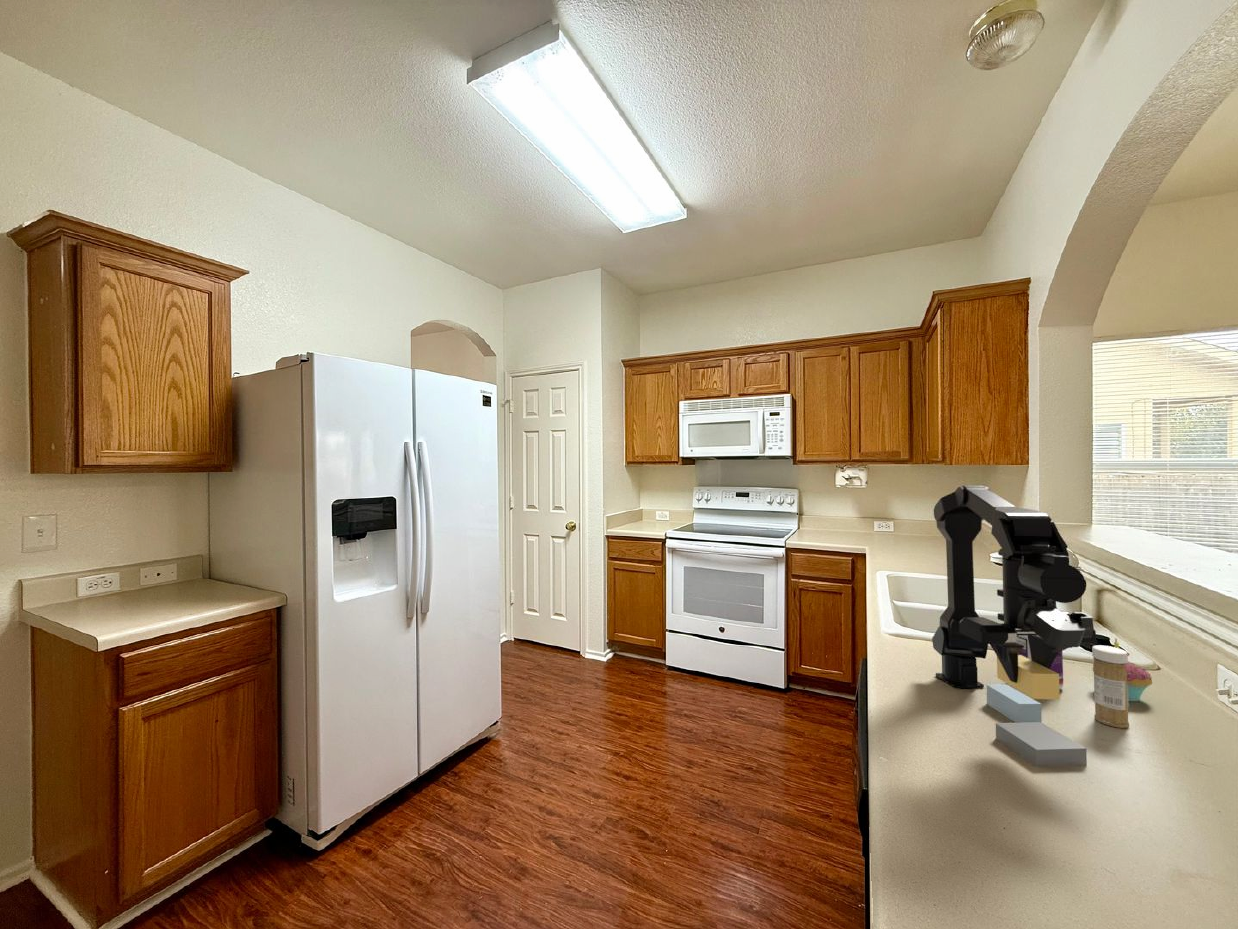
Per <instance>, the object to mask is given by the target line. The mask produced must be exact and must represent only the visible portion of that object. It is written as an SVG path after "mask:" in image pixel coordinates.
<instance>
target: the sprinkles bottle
mask: <svg viewBox="0 0 1238 929" xmlns="http://www.w3.org/2000/svg"><path fill="white" fill-rule="evenodd" d="M1091 649H1092V650H1091V651H1092V652H1091V653H1092V655H1091V656H1092V657H1093V658H1092V659H1093V664H1094V672H1093V692H1094V700H1093V701H1094V709H1095V712H1094V718H1095V720H1096V721H1098V722H1099V723H1101V724H1104V725H1106V726H1109V727H1113V728H1118V729H1124V728H1126V729H1127V728H1129V727H1130V723H1129V701H1128V690H1127V669H1126V665H1127V662H1129V659H1128V658H1129V656H1128V651H1126V650H1124V649H1122V648H1120V647H1119V648H1115V647H1114V646H1110V645H1101V644H1098V645H1092V648H1091Z"/></svg>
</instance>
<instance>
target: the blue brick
mask: <svg viewBox="0 0 1238 929" xmlns="http://www.w3.org/2000/svg"><path fill="white" fill-rule="evenodd" d="M986 704H987V706H989V707H991V708H992V709H994V710H996V711H997V712H999V713H1000V714H1001V715H1003V716H1005V717H1006V718H1008V719H1010V720H1011V721H1013V723H1024V722H1041V723H1043V721H1042V720H1043V719H1042V718H1043V717H1042V703H1040V702H1039V701H1037V700H1036V699H1032V698H1031V697H1029V696H1027V695H1025V694H1024V693H1022V692H1020V691H1019V690H1017V689H1015V688H1014V687H1012V686H1010V685H1009V684H986Z"/></svg>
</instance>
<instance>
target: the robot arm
mask: <svg viewBox="0 0 1238 929" xmlns="http://www.w3.org/2000/svg"><path fill="white" fill-rule="evenodd" d="M933 517H934V519H935V521H936V528H937V529H938V531H939V532H940V534H941V535H942V537H943V538H944V539H945V545H946V546H945V547H946V548H945V550H946V578H947V579H946V580H947V583H946V584H947V607H946V608H945V610H944V611H943V612H942V614H941V615H940V617H939V626H938V627H937V629H936V631H935V632H934V635H933V636H932V638H931V640H932V641H931V643H932V648H933V649H934V651H936V652H937V653H938V654H939V655H940V656H941V672H939V673H937V672H936V673H935V677H937V678H938V679H939V680H942V681H943V682H945V683H946V682H947V684H948V685H949V686H951V687H954V688H956V689H965V688H967V689H969V688H973V689H974V688H985V684H984V683H982V682H980V681H978V678H979V677H978V665H977V658H978V659H979V658H980V659H986V658H987V654H988V649H989V645H990V647H991V648H992V650H993V652H994V653H995V655H996V658H997V657H998V659H999V661H1000V662H1001V664H1002V666H1003V668H1004V670H1005V672H1006V674H1007V676H1008V678H1009V679H1010V681H1012V682H1014V683H1017V679H1018V653H1019V651H1021V650H1022V649H1023V648H1024V646H1023V645H1021V644H1018V643H1017V635H1027V636H1028V641H1029V647H1030V653H1031V659H1032V661H1034V662H1036V663H1038V664H1040V665H1042V666H1044V667H1046V668H1048V669H1050V668H1051V666H1052V664H1053V662H1054V660H1055V658H1056V657H1057V655H1058V653H1059V652H1061V651H1062V652H1063V651H1065V650H1067V649H1071V648H1079V647H1080V646H1081V644H1096V643H1097V634H1096V633H1097V632H1096V630H1095V627H1094V621H1093V617H1092V616H1091V615H1090V614H1088V613H1086V612H1084V611H1078V612H1076V611H1075V612H1072V613H1069V612H1066V611H1065V612H1062V611H1060V610H1059V609H1058V608H1057V603H1062V604H1068V603H1073V602H1075V601H1077V600H1079V599H1081V598H1082V597H1083V595H1085V593H1086V590H1087V580H1086V579H1085V577H1084V575H1083V574H1082V572H1081V571H1080V570H1079V569H1078V568H1076V567H1075V566H1073V565H1071V564H1070V557H1069V556H1070V554H1069V552H1068V550H1067V549H1068V544H1067V543H1066V541H1065V540H1064V538H1063V537H1062V535H1061V533H1060V531H1059V529H1058V528H1057V525H1056V523H1055V522H1054V521H1053V519H1052V518H1051V517H1050V516H1049V515H1048V514H1047V513H1045V512H1043V511H1038V510H1035V509H1029V508H1023V507H1017V506H1016V505H1014V504H1012V503H1010V502H1009V501H1007V500H1006V499H1004V498H1003V497H1001V496H999V495H998V494H996V493H994V492H993V491H991V489H990V487H988V486H985V485H961V486H958V487H957V488H956V490H954V491H953V492H951V493H949V494H947V495H944V496H942V497H940V499H939V500H938V501H937V503H935V505H934V508H933ZM983 521H985V522H987V523H988V524H989V525H990V526H991V530H990V531H991V532H990V533H991V535H992V536H993V537H994V539H995V540H996V542H997V543H998V545H999V546H1000V547H1001V548H1000V549H999V550H998V551H997V554H998V555H999V556H1001V560H1002V561H1001V562H1002V589H996V595H997V596H998V597H1001V598H1002V602H1003V603H1002V606H1003V611H1002V612H1003V613H1002V612H1001V613H997V620H999V621H1001V622H1003V623H999V622H996V621H994V620H991V619H989V618H986V617H984V616H983V617H982V616H979V614H978V613H977V611H976V604H975V603H976V602H975V601H976V600H975V598H976V597H975V575H974V574H975V573H974V571H975V570H974V546H973V544H974V541H975V539H976V538H977V537H978V535H979V533H980V532H981V531H982V525H983ZM1016 629H1021V630H1016Z"/></svg>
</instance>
